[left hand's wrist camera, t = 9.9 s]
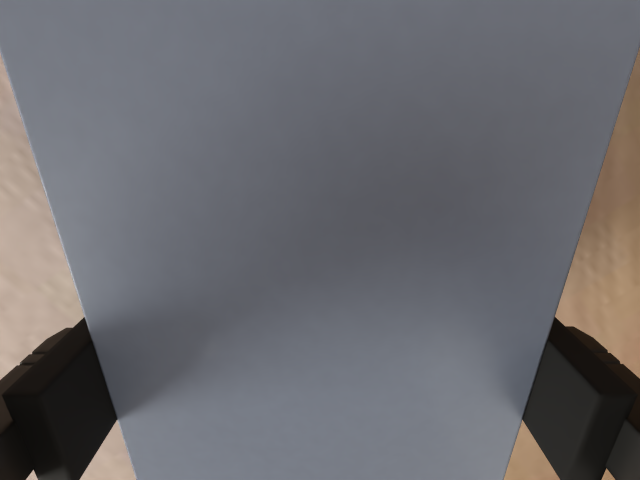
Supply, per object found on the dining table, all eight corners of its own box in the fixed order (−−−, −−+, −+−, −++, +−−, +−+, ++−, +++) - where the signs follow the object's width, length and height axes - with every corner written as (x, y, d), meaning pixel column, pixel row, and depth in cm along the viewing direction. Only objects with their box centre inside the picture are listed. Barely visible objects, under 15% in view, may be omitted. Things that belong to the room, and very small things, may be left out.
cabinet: (138, -201, 11) (-310, -904, 3) (499, -201, 11) (946, -910, 3) (213, 317, 18) (136, 485, 11) (426, 317, 18) (503, 484, 11)
